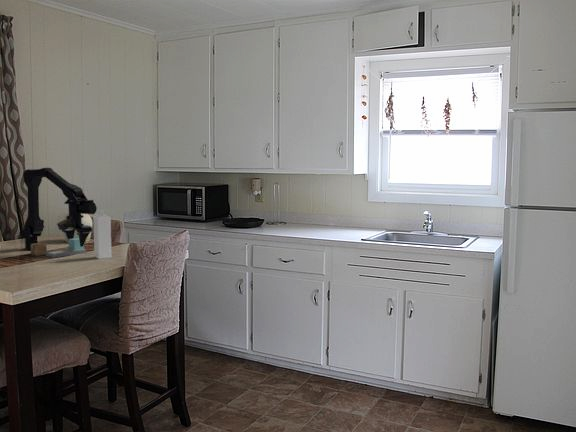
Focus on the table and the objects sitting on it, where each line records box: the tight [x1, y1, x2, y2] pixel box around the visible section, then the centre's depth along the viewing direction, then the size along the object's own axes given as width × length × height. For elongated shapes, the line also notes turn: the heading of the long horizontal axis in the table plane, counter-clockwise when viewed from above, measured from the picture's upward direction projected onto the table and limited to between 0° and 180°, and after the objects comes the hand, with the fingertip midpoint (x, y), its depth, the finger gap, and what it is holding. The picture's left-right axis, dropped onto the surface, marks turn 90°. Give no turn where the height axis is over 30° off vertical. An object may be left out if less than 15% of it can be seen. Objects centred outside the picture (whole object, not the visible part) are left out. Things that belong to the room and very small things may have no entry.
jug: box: [62, 212, 93, 243], centre depth 309 cm, size 15×16×25 cm
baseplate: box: [45, 248, 88, 259], centre depth 272 cm, size 7×17×2 cm, turn 143°
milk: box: [92, 209, 112, 260], centre depth 264 cm, size 6×6×22 cm
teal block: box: [67, 238, 85, 251], centre depth 276 cm, size 5×5×5 cm
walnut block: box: [30, 242, 48, 256], centre depth 272 cm, size 5×5×5 cm
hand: (76, 245), depth 276 cm, fingers open, 9 cm apart
